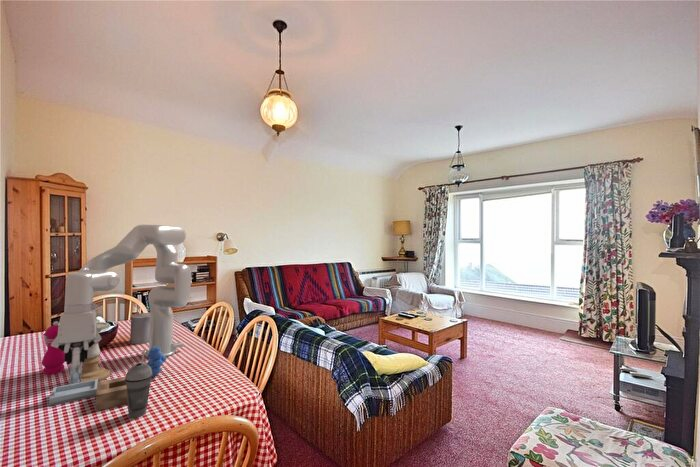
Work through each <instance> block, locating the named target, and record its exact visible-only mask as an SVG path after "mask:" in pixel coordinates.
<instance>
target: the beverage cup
mask: <svg viewBox="0 0 700 467" xmlns="http://www.w3.org/2000/svg"><path fill="white" fill-rule="evenodd" d="M145 352H146V349H144V348H143V350H142V355H141V362H139V363H136V364H133V365H132V366H131V367H130V368H129V369H128V370H127V372H126V374H125V377H126V378H125V381H126V387H127V400H128V404H127V412H128V417H129V418H130V419H136V418H141V417H143V416H144V415H146V414H147V409H148V402H149V396H150V387H151V382H152V379H153V374H152V369H151V367H150V366H149V365H147V363H145V362H144V359H145Z"/></svg>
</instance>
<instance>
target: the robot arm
mask: <svg viewBox="0 0 700 467" xmlns="http://www.w3.org/2000/svg"><path fill="white" fill-rule="evenodd" d="M186 236H187V234H186V231H185V229H184V228H182V227H181V226H174V225H173V226H172V225H163V224H138V225H136V226H134V227H133V228H132V229H131V230H130V231H129V232H128V233H127V234H126V235H125V236H124V237H123V238H122V239H121V240H120V242H118V244H116V245H115V246H114V247H112V248H110V249H108V250H106V251H104V252H103V251H102V253H99V254H98V255H95V257H92V258H91V259H90V260H88V261H87V262H86V263H85V264H84V265H83V266H82V267H81V268H80V269H79V270H78V272H71V273H68V274H67V275H66V279H65V290H64V291H65V292H64V307H63V309H64V310H63V311H64V312H61V315H60V316H59V317H60V318H59V321H58V322H59V324H58V325H59V327H58V335H57V337H56V338H55V340H54V341H53V342H52V344H51V346H52V347H56V348H59V349H60V350H62V351H63V352H64V353H65V362H64V363H66V366H70V354H71V343H76V342H83V350H82V362H84V361H85V359H87V355H88V349H89V348H90V347H91V346H92V345H93V344H94V343H96V342H98V341H99V342H100V341H101V340H102V336H101V334H100V333H98V332H97V322H98V320H97V318H98V317H97V312H96V309H97V308H99V303H94V293H95V292H107V291H112V290H114V289H116V288H117V287H118V286H119V284H120V281H121V280H120V276H119V274H118V273H117V272H115V271H112V270H109V269H112V268H113V267H117V266H121V265H125V264H128V263H131V262H133V261H135V260H137V258H138V257H139V256H140V255H141V254H142V252H143V251H144V250H145V249H146V247H147V246H150V245H153V247H154V248H155V251H156V261H155V262H156V263H155V271H154V279H155V281H156V282H157V283H160V284H161V283H162V284H172V285H173V284H174V286H172V285H170V286H168V285H167V286H166V285H159V286H155V287H153V288H152V289H151V290H150V291H149V293H148V295H147V296H148V298H147V300H148V305H149V313H150V334H149V342H148V350H147V351H146V350H145V353H144V358H145V357H146V358H148V357H147V356H148V354H149V353H150V352H149V351H150V349H151V348H152V347H159V348H160V349H161V351H160V352H161V353H162V354H163V356H165V357H166V358H167V357H169V356H172V355H174V354H175V353H176V352H177V349H178V348H184V342H174V341H173V340H174V339H173V336H174V312H173V309H172V308H174V309H175V308H176V309H178V308H183V307H186V306H187V304H188V303H189V299H190V294H191V286H192V270H191V268H190V266H189V265H187V264H185V263H178V251H177V248H176V247H175V246H179V245H181V244H182V243H184V241H185V240H186V238H187V237H186ZM94 309H95V310H94ZM93 339H94V340H93ZM90 340H91V341H90ZM89 341H90V342H89ZM99 342H98V343H99ZM148 359H149V358H148Z"/></svg>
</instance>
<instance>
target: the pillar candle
mask: <svg viewBox="0 0 700 467" xmlns="http://www.w3.org/2000/svg"><path fill="white" fill-rule="evenodd" d="M149 334H150V312H141V313H134V314H132V315H131V316H130V334H129V339H130V340H129V343H130V344H131V345H142V344H147V343H149Z"/></svg>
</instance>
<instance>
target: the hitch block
mask: <svg viewBox="0 0 700 467" xmlns="http://www.w3.org/2000/svg"><path fill="white" fill-rule="evenodd" d="M125 378H126V376H123V377H122V376H121V377H117V378H112V379H106V380H105V379H104V380H101V381H99V382H97V393H96V396H95V397H96V398H95V412H97V411H102V410H107V409H112V408H115V407H120V406H124V405H128V400H127V387H126V381H125Z"/></svg>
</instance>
